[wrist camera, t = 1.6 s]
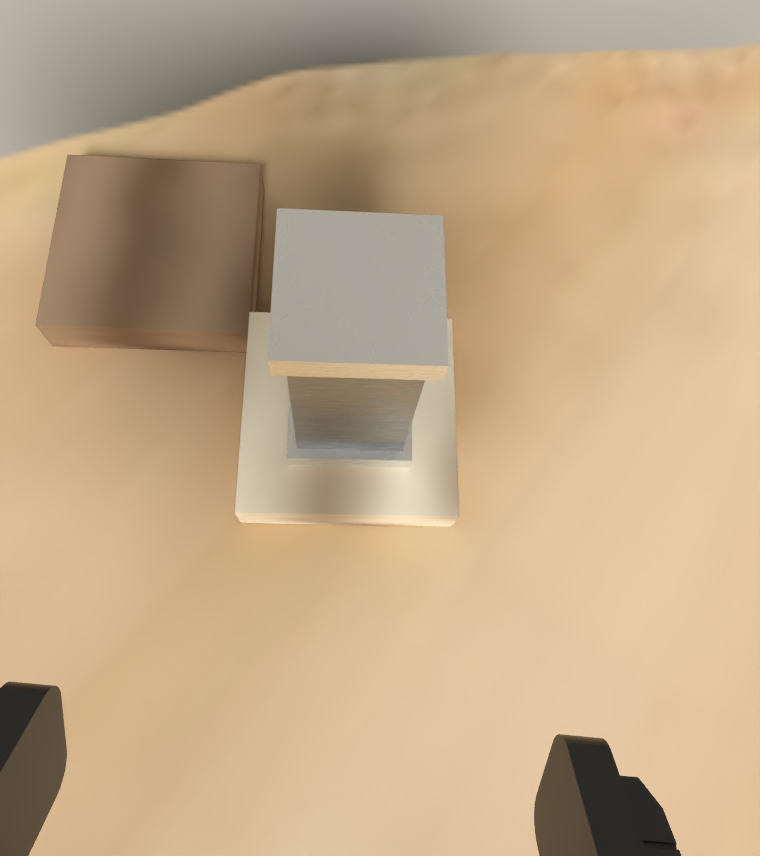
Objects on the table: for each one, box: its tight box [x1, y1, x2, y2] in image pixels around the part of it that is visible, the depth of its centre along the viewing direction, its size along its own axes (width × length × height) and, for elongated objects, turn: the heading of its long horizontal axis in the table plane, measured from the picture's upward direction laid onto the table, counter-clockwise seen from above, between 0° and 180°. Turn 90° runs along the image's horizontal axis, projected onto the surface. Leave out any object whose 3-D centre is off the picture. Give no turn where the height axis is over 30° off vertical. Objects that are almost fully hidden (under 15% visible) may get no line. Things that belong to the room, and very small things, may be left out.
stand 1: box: [36, 155, 264, 352], centre depth 32 cm, size 9×9×2 cm
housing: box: [268, 208, 449, 468], centre depth 25 cm, size 5×5×10 cm
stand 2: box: [235, 312, 459, 526], centre depth 30 cm, size 9×9×2 cm
